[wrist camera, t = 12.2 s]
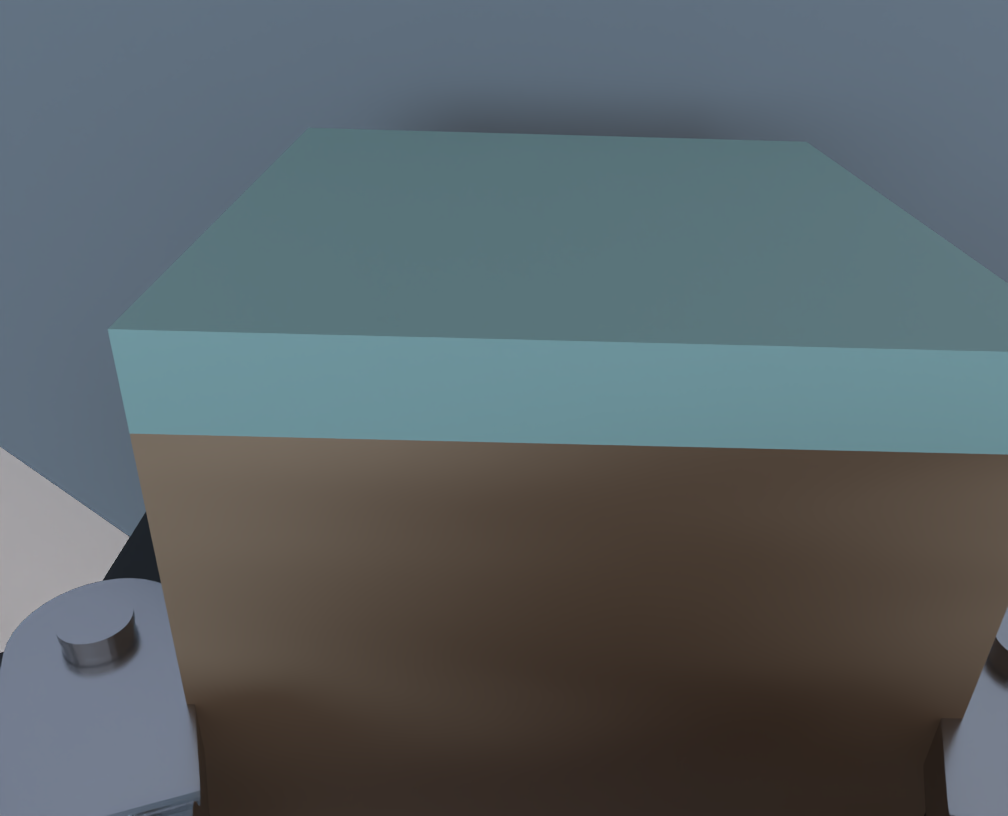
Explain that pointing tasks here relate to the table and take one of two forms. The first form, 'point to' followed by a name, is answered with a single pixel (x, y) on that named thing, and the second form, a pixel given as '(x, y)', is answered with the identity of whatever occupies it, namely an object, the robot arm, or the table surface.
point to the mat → (421, 107)
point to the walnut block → (571, 479)
